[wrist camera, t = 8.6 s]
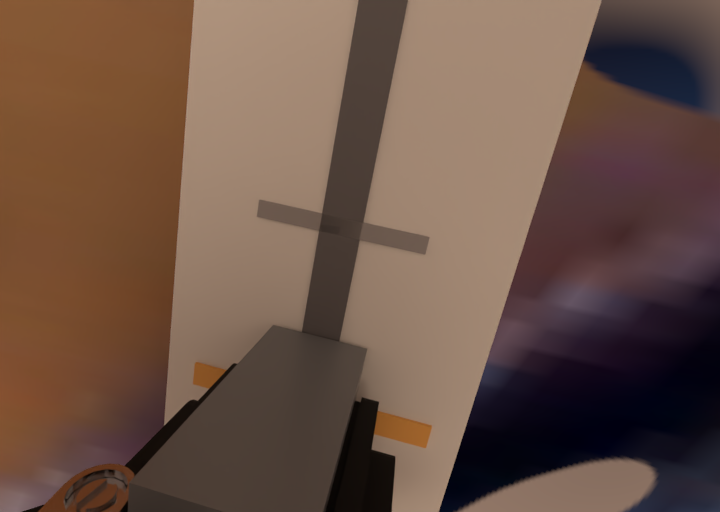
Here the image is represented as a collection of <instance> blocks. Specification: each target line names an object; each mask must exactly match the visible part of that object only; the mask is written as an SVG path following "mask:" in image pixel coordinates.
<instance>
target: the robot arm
mask: <svg viewBox="0 0 720 512" xmlns="http://www.w3.org/2000/svg"><path fill="white" fill-rule="evenodd" d="M236 365H237V364H236V363H233V364H232V365H231V366H230V367H229V368H228V369H227V370H226V371H225V372H224V374H223V375H222V376H221V377H220V378H219V379H218V380H217V381H216V382H215V383H214V384H213V385H212V386H211V387H210V388H209V389H208V391H207V392H206V393H205V394H204V395H203V396H202V397H201V398H200V399H199V400H198V401H197V400H190V401H189V402H187V403H186V404H185V405H184V406H183V407H182V408H181V409H180V410H179V411H178V412H177V413H176V414H175V415H174V416H173V417H172V418H171V419H170V420H169V421H168V422H167V423H166V424H165V425H164V427H163V428H162V429H161V430H160V431H159V432H158V433H157V434H156V435H155V436H154V437H153V438H152V439H151V440H150V441H149V442H148V443H147V444H146V445H145V446H144V447H143V448H142V449H141V450H140V451H139V452H138V453H137V454H136V455H135V456H134V457H133V458H132V459H131V460H130V461H129V462H128V463H127V464H126V465H125V466H122V465H120V464H104V465H98V466H95V467H92V468H89V469H86V470H84V471H82V472H81V473H79V474H77V475H75V476H74V477H73V478H71V479H70V480H69V481H68V482H67V483H65V484H64V485H63V486H62V487H61V488H60V489H59V490H58V491H57V492H56V493H55V494H54V496H53V497H52V498H51V499H50V500H49V501H48V502H47V503H46V504H45V505H42V506H39V507H35V508H32V509H29V510H26V511H23V512H128V495H129V482H130V481H131V480H132V479H133V478H134V477H135V476H136V474H137V473H138V472H139V471H140V470H141V469H142V468H143V467H144V466H145V465H146V464H147V462H148V461H149V460H150V459H151V458H152V457H153V456H154V455H155V454H156V453H157V451H158V450H159V449H160V448H161V447H162V446H163V445H164V444H165V443H166V442H167V441H168V439H169V438H170V437H171V436H172V435H173V434H174V433H175V432H176V431H177V430H178V429H179V427H180V426H181V425H182V424H183V423H184V422H185V421H186V420H187V419H188V418H189V416H190V415H191V414H192V413H193V412H194V411H195V410H196V409H197V408H198V407H199V406H200V404H201V403H202V402H203V401H204V400H205V399H206V398H207V397H208V396H209V395H210V394H211V392H212V391H213V390H214V389H215V388H216V387H217V386H218V385H219V384H220V383H221V382H222V380H223V379H224V378H225V377H226V376H227V375H228V374H229V373H230V372H231V371H232V369H233V368H234V367H235V366H236ZM378 406H379V402H378V401H375V400H371V399H367V398H363V397H362V398H361V402H359V401H355V402H354V406H353V410H352V413H351V417H350V421H349V425H348V428H347V432H346V436H345V440H344V443H343V447H342V451H341V455H340V458H339V462H338V466H337V470H336V473H335V477H334V481H333V485H332V488H331V492H330V496H329V500H328V504H327V507H326V511H325V512H392V500H393V487H394V474H395V456H393V455H389V454H386V453H382V452H379V451H375V450H372V443H373V437H374V431H375V425H376V418H377V412H378Z"/></svg>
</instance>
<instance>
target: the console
mask: <svg viewBox="0 0 720 512" xmlns="http://www.w3.org/2000/svg"><path fill="white" fill-rule="evenodd" d="M601 1H602V0H194V11H193V25H192V39H191V53H190V67H189V81H188V95H187V109H186V124H185V138H184V152H183V166H182V180H181V194H180V208H179V222H178V236H177V250H176V264H175V278H174V292H173V306H172V320H171V334H170V348H169V362H168V376H167V390H166V404H165V418H164V425H165V424H166V423H167V422H168V421H169V420H170V419H171V418H172V417H173V416H174V415H175V414H176V413H177V412H178V411H179V410H180V409H181V408H182V407H183V406H184V405H185V404H186V403H187V402H189V401H190V400H197V401H198V400H199V399H200V398H201V397H202V396H203V395H204V394H205V393H206V392H207V391H208V389H209V388H210V387H211V386H212V385H213V384H214V383H215V382H216V381H217V380H218V379H219V378H220V377H221V376H222V375H223V374H224V372H225V371H226V370H227V369H228V368H229V367H230V366H231V365H232V364H233V363H236V364H238V363H239V362H240V361H241V360H242V359H243V357H244V356H245V355H246V354H247V353H248V352H249V351H250V350H251V349H252V348H253V347H254V345H255V344H256V343H257V342H258V341H259V340H260V339H261V338H262V337H263V336H264V335H265V333H266V332H267V331H268V330H269V329H270V328H271V327H272V326H273V325H276V326H280V327H284V328H288V329H292V330H295V331H299V332H303V333H307V334H311V335H315V336H319V337H323V338H327V339H331V340H335V341H339V342H343V343H347V344H351V345H354V346H358V347H362V348H366V349H367V353H366V357H365V362H364V366H363V371H362V375H361V380H360V384H359V389H358V393H357V398H356V401H359V402H361V398H362V397H363V398H367V399H371V400H375V401H378V402H379V406H378V412H377V418H376V425H375V431H374V437H373V443H372V450H375V451H379V452H382V453H386V454H389V455H393V456H395V474H394V487H393V500H392V512H439V509H440V506H441V503H442V500H443V496H444V493H445V490H446V487H447V484H448V481H449V478H450V475H451V471H452V468H453V465H454V462H455V459H456V456H457V453H458V449H459V446H460V443H461V440H462V437H463V434H464V431H465V427H466V424H467V421H468V418H469V415H470V412H471V409H472V406H473V402H474V399H475V396H476V393H477V390H478V387H479V384H480V380H481V377H482V374H483V371H484V368H485V365H486V362H487V359H488V355H489V352H490V349H491V346H492V343H493V340H494V337H495V333H496V330H497V327H498V324H499V321H500V318H501V315H502V312H503V308H504V305H505V302H506V299H507V296H508V293H509V290H510V286H511V283H512V280H513V277H514V274H515V271H516V268H517V265H518V261H519V258H520V255H521V252H522V249H523V246H524V243H525V239H526V236H527V233H528V230H529V227H530V224H531V221H532V218H533V214H534V211H535V208H536V205H537V202H538V199H539V196H540V192H541V189H542V186H543V183H544V180H545V177H546V174H547V171H548V167H549V164H550V161H551V158H552V155H553V152H554V149H555V145H556V142H557V139H558V136H559V133H560V130H561V127H562V124H563V120H564V117H565V114H566V111H567V108H568V105H569V102H570V98H571V95H572V92H573V89H574V86H575V83H576V80H577V77H578V73H579V70H580V67H581V64H582V61H583V58H584V55H585V51H586V48H587V45H588V42H589V39H590V36H591V33H592V30H593V26H594V23H595V20H596V17H597V14H598V10H599V8H600V4H601Z"/></svg>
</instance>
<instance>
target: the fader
mask: <svg viewBox="0 0 720 512" xmlns="http://www.w3.org/2000/svg"><path fill="white" fill-rule="evenodd" d="M366 353H367V349H366V348H362V347H358V346H354V345H351V344H347V343H343V342H339V341H335V340H331V339H327V338H323V337H319V336H315V335H311V334H307V333H303V332H299V331H295V330H292V329H288V328H284V327H280V326H276V325H273V326H272V327H271V328H270V329H269V330H268V331H267V332H266V333H265V335H264V336H263V337H262V338H261V339H260V340H259V341H258V342H257V343H256V344H255V345H254V347H253V348H252V349H251V350H250V351H249V352H248V353H247V354H246V355H245V356H244V357H243V359H242V360H241V361H240V362H239V363H238V364H237V365H236V366H235V367H234V368H233V369H232V371H231V372H230V373H229V374H228V375H227V376H226V377H225V378H224V379H223V380H222V382H221V383H220V384H219V385H218V386H217V387H216V388H215V389H214V390H213V391H212V392H211V394H210V395H209V396H208V397H207V398H206V399H205V400H204V401H203V402H202V403H201V404H200V406H199V407H198V408H197V409H196V410H195V411H194V412H193V413H192V414H191V415H190V416H189V418H188V419H187V420H186V421H185V422H184V423H183V424H182V425H181V426H180V427H179V429H178V430H177V431H176V432H175V433H174V434H173V435H172V436H171V437H170V438H169V439H168V441H167V442H166V443H165V444H164V445H163V446H162V447H161V448H160V449H159V450H158V451H157V453H156V454H155V455H154V456H153V457H152V458H151V459H150V460H149V461H148V462H147V464H146V465H145V466H144V467H143V468H142V469H141V470H140V471H139V472H138V473H137V474H136V476H135V477H134V478H133V479H132V480H131V481H130V482H129V495H128V512H325V511H326V507H327V504H328V500H329V496H330V492H331V488H332V485H333V481H334V477H335V473H336V470H337V466H338V462H339V458H340V455H341V451H342V447H343V443H344V440H345V436H346V432H347V428H348V425H349V421H350V417H351V413H352V410H353V406H354V402H355V401H356V398H357V393H358V389H359V384H360V380H361V375H362V371H363V366H364V362H365V357H366Z"/></svg>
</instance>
